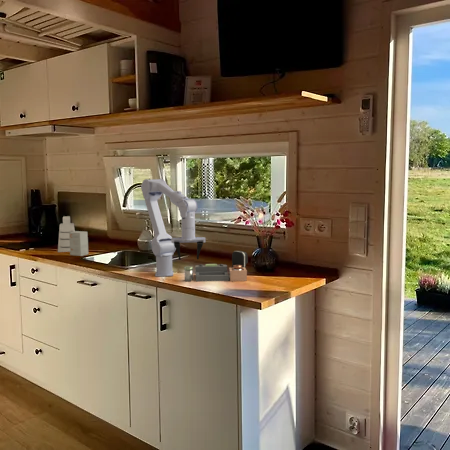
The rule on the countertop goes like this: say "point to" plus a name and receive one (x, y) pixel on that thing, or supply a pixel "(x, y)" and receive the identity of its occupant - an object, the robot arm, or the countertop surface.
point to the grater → (65, 234)
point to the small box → (78, 243)
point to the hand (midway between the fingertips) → (188, 259)
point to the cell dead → (237, 267)
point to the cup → (238, 274)
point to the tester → (211, 272)
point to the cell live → (188, 273)
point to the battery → (239, 258)
